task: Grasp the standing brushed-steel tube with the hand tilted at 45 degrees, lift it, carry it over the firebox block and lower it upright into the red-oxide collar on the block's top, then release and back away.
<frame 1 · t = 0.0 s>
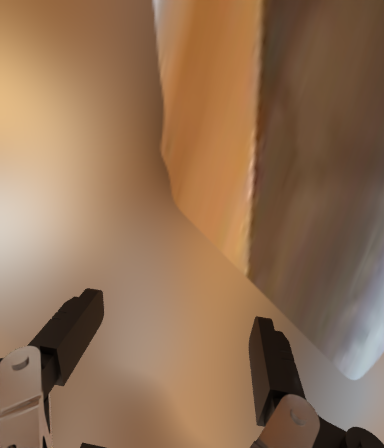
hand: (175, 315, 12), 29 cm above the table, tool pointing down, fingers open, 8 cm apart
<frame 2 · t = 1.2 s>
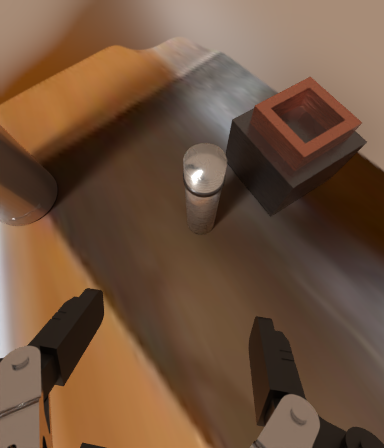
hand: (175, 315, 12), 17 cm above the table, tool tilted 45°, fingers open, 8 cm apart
steel tube: (200, 222, 33), on the table
firebox block: (276, 169, 36), on the table
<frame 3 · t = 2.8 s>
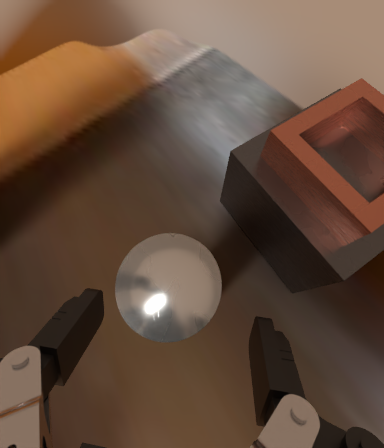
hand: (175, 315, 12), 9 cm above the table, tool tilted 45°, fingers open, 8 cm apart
steel tube: (184, 304, 21), on the table
firebox block: (296, 214, 24), on the table
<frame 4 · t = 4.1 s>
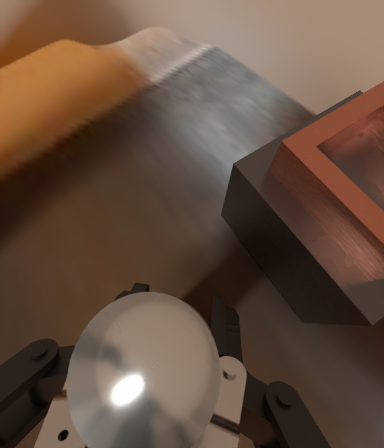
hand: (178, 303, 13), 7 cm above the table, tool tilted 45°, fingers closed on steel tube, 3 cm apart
steel tube: (180, 334, 19), on the table, touching gripper
firebox block: (306, 231, 22), on the table
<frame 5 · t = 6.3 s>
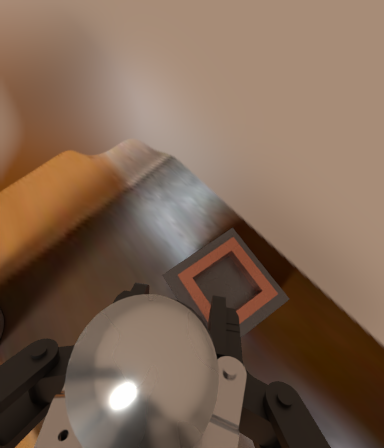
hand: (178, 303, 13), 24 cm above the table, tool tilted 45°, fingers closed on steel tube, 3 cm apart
steel tube: (179, 335, 19), point 18 cm above the table, touching gripper
firebox block: (218, 292, 37), on the table
when the fingers open (16 cm above the table, at t = 8.5 s): steel tube drops 1 cm, resting on firebox block.
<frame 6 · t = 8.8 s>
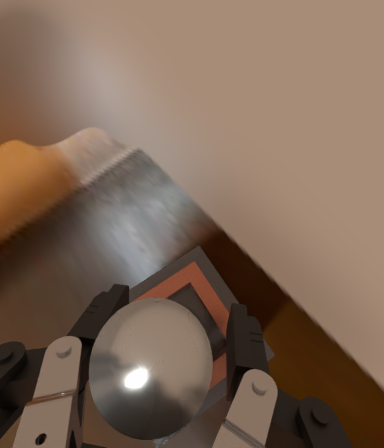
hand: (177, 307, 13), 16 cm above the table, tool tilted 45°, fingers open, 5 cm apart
steel tube: (181, 335, 20), point 8 cm above the table, touching firebox block
firebox block: (185, 329, 28), on the table
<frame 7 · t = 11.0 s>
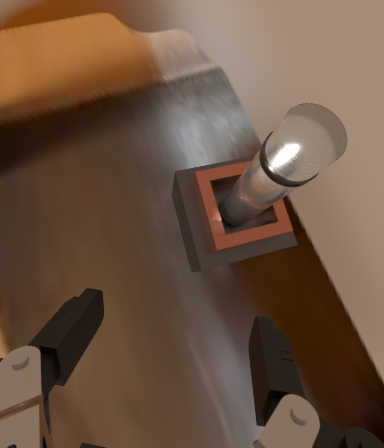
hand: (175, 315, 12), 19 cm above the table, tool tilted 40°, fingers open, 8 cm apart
steel tube: (236, 209, 26), point 8 cm above the table, touching firebox block
firebox block: (219, 223, 34), on the table
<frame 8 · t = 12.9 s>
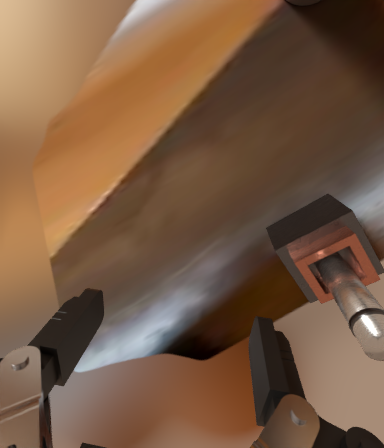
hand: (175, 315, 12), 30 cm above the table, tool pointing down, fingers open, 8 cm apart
steel tube: (328, 261, 34), point 8 cm above the table, touching firebox block
firebox block: (311, 236, 42), on the table
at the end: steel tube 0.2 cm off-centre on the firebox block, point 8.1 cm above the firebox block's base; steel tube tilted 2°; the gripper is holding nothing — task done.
